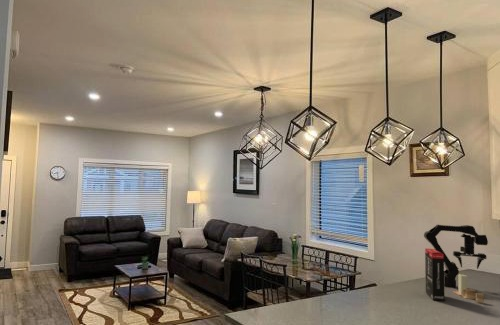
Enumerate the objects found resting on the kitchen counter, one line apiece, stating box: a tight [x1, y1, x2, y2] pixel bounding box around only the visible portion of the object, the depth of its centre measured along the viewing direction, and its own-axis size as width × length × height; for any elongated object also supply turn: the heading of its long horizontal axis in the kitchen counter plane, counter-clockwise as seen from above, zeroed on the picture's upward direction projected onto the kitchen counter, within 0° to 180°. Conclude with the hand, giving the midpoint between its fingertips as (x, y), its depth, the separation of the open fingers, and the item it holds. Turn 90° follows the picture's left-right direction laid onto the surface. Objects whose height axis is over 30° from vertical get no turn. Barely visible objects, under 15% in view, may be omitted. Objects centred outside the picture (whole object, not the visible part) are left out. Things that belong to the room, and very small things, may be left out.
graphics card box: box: [424, 248, 446, 302], centre depth 218 cm, size 17×7×27 cm, turn 168°
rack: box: [461, 288, 485, 304], centre depth 215 cm, size 13×8×5 cm, turn 176°
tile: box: [451, 290, 464, 296], centre depth 228 cm, size 9×9×1 cm
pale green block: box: [457, 273, 468, 294], centre depth 228 cm, size 4×4×11 cm
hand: (469, 268), depth 244 cm, fingers open, 9 cm apart
